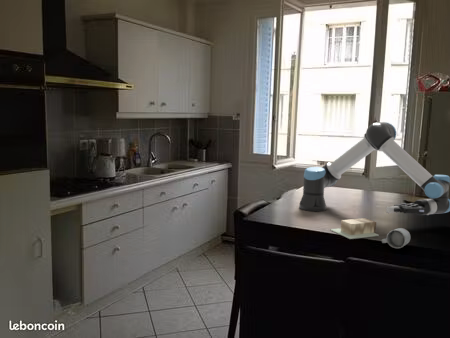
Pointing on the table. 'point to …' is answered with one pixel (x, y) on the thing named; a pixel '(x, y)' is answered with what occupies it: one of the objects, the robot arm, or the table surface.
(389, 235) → the ceramic mug
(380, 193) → the table surface
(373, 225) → the birch block
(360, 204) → the table surface
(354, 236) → the sage mat
